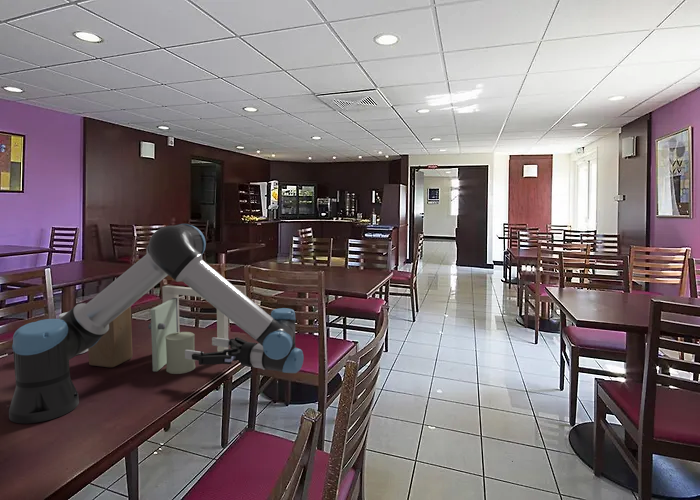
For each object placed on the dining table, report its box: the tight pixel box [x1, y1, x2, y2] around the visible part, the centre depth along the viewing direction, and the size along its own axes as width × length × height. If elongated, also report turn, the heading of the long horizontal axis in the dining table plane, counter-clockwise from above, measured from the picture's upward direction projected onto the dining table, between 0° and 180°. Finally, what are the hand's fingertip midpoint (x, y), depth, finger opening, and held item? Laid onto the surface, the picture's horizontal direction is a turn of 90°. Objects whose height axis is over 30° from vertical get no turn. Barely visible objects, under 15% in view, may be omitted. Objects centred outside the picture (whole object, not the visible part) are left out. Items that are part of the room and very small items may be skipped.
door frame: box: [161, 285, 229, 355], centre depth 153 cm, size 2×27×25 cm, turn 71°
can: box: [165, 331, 196, 375], centre depth 140 cm, size 9×9×12 cm
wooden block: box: [87, 306, 133, 368], centre depth 145 cm, size 10×10×20 cm
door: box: [147, 298, 178, 372], centre depth 145 cm, size 5×18×21 cm, turn 0°
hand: (199, 347), depth 138 cm, fingers open, 13 cm apart
